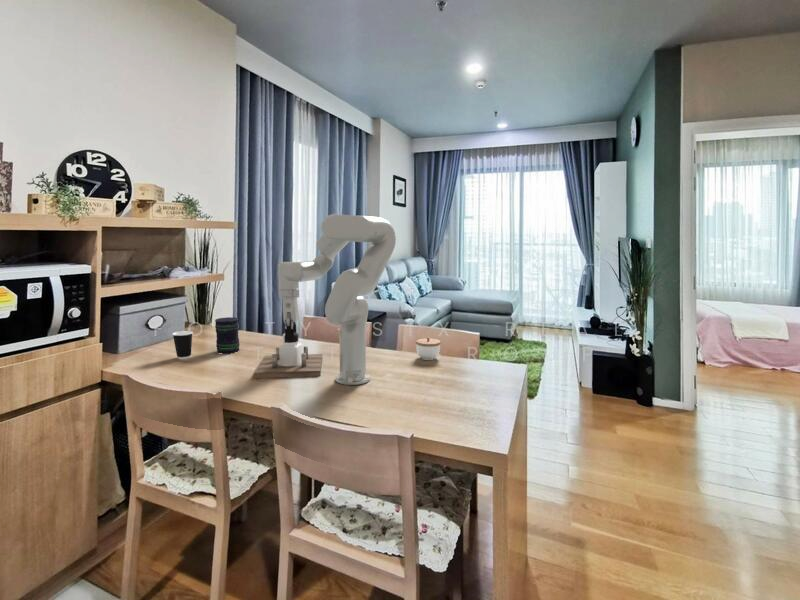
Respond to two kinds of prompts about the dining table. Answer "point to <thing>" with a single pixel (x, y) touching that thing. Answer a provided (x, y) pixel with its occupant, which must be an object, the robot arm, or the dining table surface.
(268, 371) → the peg board
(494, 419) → the dining table surface
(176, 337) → the dixie cup
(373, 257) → the robot arm
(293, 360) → the medicine bottle
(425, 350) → the lidded jar
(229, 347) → the storage jar
